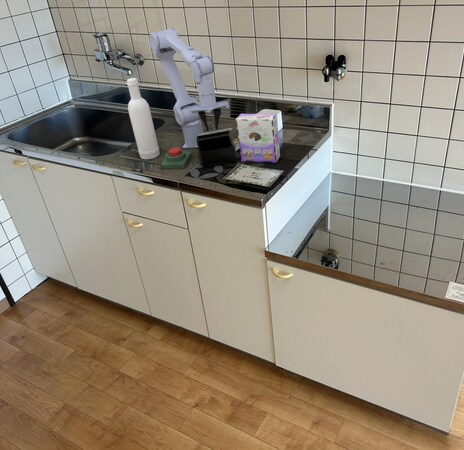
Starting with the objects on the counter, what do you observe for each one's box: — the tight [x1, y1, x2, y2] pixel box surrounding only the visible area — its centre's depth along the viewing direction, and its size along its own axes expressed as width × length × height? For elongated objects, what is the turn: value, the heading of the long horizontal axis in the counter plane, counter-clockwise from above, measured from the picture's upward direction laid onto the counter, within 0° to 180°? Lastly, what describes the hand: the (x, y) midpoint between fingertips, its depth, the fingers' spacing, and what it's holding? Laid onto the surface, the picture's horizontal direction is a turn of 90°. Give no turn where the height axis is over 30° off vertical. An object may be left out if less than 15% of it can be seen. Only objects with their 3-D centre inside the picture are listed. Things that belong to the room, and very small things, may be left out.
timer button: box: [168, 147, 182, 157], centre depth 175 cm, size 4×4×2 cm
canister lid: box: [196, 127, 233, 140], centre depth 171 cm, size 13×13×1 cm
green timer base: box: [160, 148, 192, 170], centre depth 176 cm, size 11×9×4 cm
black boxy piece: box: [196, 134, 238, 170], centre depth 174 cm, size 12×13×6 cm
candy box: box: [235, 113, 281, 164], centre depth 167 cm, size 14×6×16 cm, turn 71°
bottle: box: [126, 77, 161, 160], centre depth 177 cm, size 8×8×30 cm
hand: (212, 129), depth 173 cm, fingers open, 3 cm apart
